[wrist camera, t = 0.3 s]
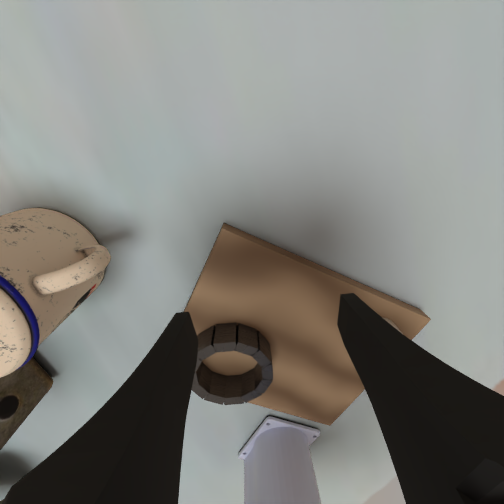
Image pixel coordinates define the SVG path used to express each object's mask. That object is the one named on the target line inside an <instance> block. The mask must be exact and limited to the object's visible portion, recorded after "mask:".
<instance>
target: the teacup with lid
mask: <svg viewBox="0 0 504 504" xmlns="http://www.w3.org/2000/svg"><path fill="white" fill-rule="evenodd" d="M110 259H111V256H110V254H109V252H108V250H107V249H106V248H105V247H104V246H102V245H99V244H98V242H97V241H96V239H95V238H94V237H93V235H92V234H91V233H90V232H89V231H88V230H87V229H86V228H85V227H84V226H82V225H81V224H80V223H79V222H77V221H76V220H74V219H72V218H71V217H69V216H67V215H64V214H62V213H59V212H56V211H53V210H49V209H42V208H29V209H23V210H19V211H15V212H12V213H8V214H5V215H2V216H0V378H1V377H3V376H6V375H8V374H10V373H12V372H14V371H15V370H17V369H19V368H21V367H22V366H24V365H25V364H26V363H27V362H28V361H29V360H30V359H31V358H32V357H33V356H34V354H35V352H36V350H37V348H38V346H39V345H40V344H41V343H42V342H43V341H44V340H45V339H46V338H47V337H48V336H49V335H50V334H51V333H52V332H53V331H54V330H55V329H56V328H57V327H58V326H59V325H60V324H61V323H62V322H63V321H64V320H65V319H66V318H67V317H68V316H69V315H70V314H71V313H72V312H73V311H74V310H75V309H76V308H77V307H78V306H79V305H80V304H81V303H82V302H83V301H84V300H85V299H86V298H87V297H88V296H89V295H90V294H91V293H92V292H93V291H94V290H95V289H96V288H97V287H98V286H99V285H100V283H101V281H102V279H103V277H104V273H105V267H106V266H107V265H108V264H109V262H110Z"/></svg>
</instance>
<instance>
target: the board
mask: <svg viewBox="0 0 504 504" xmlns="http://www.w3.org/2000/svg"><path fill="white" fill-rule="evenodd" d="M348 293H354V294H355V295H357V296H358V297H359V298H360V299H361V300H362V301H364V302H365V303H366V304H367V305H368V306H369V307H370V308H372V309H373V310H374V311H375V312H376V313H377V314H379V315H380V316H381V317H383V318H387V319H389V320H391V321H392V322H393V323H394V324H395V325H396V326H397V327H398V329H399V330H400V331H401V332H402V333H403V335H405V336H406V337H407V338H409V339H410V340H412V339H413V338H414V337H415V336H416V335H417V334H418V333H419V332H420V330H421V329H422V328H423V327H424V326H425V325H426V324H427V323H428V322H429V321H430V320H431V319H430V318H429V317H428V316H427V315H426V314H425V313H424V312H423V311H421V310H420V309H418V308H415V307H413V306H411V305H409V304H406V303H404V302H402V301H400V300H397V299H395V298H393V297H391V296H388V295H386V294H384V293H382V292H379V291H377V290H375V289H372V288H370V287H368V286H366V285H363V284H361V283H359V282H357V281H354V280H352V279H350V278H348V277H345V276H343V275H341V274H338V273H336V272H334V271H332V270H329V269H327V268H325V267H323V266H320V265H318V264H316V263H314V262H311V261H309V260H307V259H305V258H302V257H300V256H298V255H295V254H293V253H291V252H289V251H286V250H284V249H282V248H280V247H277V246H275V245H273V244H271V243H268V242H266V241H264V240H261V239H259V238H257V237H255V236H252V235H250V234H248V233H246V232H243V231H241V230H239V229H237V228H234V227H232V226H230V225H227V224H225V223H223V226H222V228H221V230H220V232H219V235H218V237H217V239H216V241H215V243H214V246H213V248H212V250H211V252H210V254H209V257H208V259H207V261H206V263H205V266H204V268H203V270H202V272H201V274H200V277H199V279H198V281H197V283H196V286H195V288H194V290H193V292H192V294H191V297H190V299H189V301H188V303H187V306H186V308H185V310H184V312H189V313H190V316H191V319H192V322H193V325H194V328H195V331H196V334H197V336H198V334H199V333H201V332H202V331H204V330H206V329H208V328H209V327H211V326H213V325H215V326H216V324H223V323H235V322H236V324H237V325H238V323H241V324H244V325H247V326H249V327H252V328H255V329H257V331H258V330H259V331H260V333H261V334H262V335H263V336H264V337H265V338H266V339H267V341H268V342H269V344H270V349H271V357H272V364H273V382H272V383H271V384H270V386H269V387H268V388H267V390H266V391H265V393H264V394H263V393H262V395H261V396H259V397H257V398H255V399H253V400H251V401H249V402H248V403H252V404H256V405H259V406H263V407H266V408H270V409H273V410H277V411H280V412H284V413H287V414H291V415H294V416H298V417H301V418H305V419H308V420H312V421H315V422H319V423H322V424H326V425H331V424H332V423H333V422H334V421H335V420H336V419H337V418H338V417H339V416H340V415H341V414H342V413H343V412H344V410H345V409H346V408H347V407H348V406H349V405H350V404H351V403H352V402H353V401H354V400H355V399H356V398H357V397H358V396H359V395H360V394H361V393H362V392H363V390H364V389H365V388H364V386H363V384H362V382H361V379H360V377H359V375H358V373H357V371H356V369H355V367H354V365H353V363H352V361H351V359H350V357H349V354H348V352H347V350H346V348H345V346H344V343H343V340H342V338H341V335H340V332H339V329H338V326H337V321H338V312H339V303H340V294H348ZM202 361H203V363H204V364H205V365H206V366H207V367H208V368H209V369H210V370H211V371H213V372H216V373H219V374H223V375H226V376H229V375H241V374H243V373H245V372H247V371H249V370H251V369H253V368H254V367H255V366H256V364H257V363H258V362H257V361H256V360H255V359H254V358H253V357H252V356H249V355H246V354H243V353H240V352H237V351H227V352H216V353H215V354H213V355H211V356H209V357H207V358H206V359H204V360H202Z"/></svg>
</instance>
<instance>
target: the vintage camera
mask: <svg viewBox="0 0 504 504" xmlns="http://www.w3.org/2000/svg"><path fill="white" fill-rule="evenodd" d="M52 384H53V379H52V378H51V377H50V376H49V375H48V373H47V372H46V371H45V370H44V369H43V368H42V367H41V366H40V365H39V364H38V363H37V361H36V360H35V359H34V358H33V357H32V358H31V359H30V360H29V361H28V362H27V363H26V364H25V365H24V366H22V367H21V368H19V369H17V370H15V371H14V372H12V373H10V374H8V375H6V376H3V377H1V378H0V450H1V449H2V448H3V446H4V445H5V444H6V443H7V441H8V440H9V439H10V438H11V436H12V435H13V434H14V433H15V431H16V430H17V429H18V428H19V426H20V425H21V424H22V423H23V421H24V420H25V419H26V418H27V416H28V415H29V414H30V413H31V411H32V410H33V409H34V408H35V407H36V405H37V404H38V403H39V402H40V400H41V399H42V398H43V397H44V395H45V394H46V393H47V392H48V391H49V390H50V388H51V387H52Z"/></svg>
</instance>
